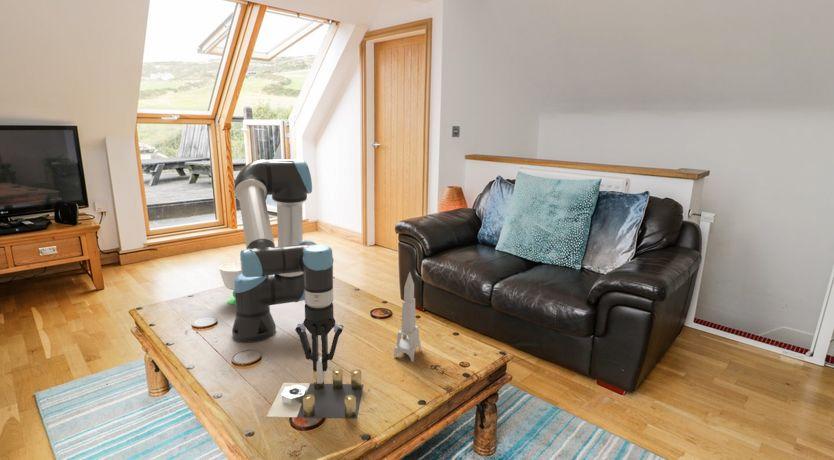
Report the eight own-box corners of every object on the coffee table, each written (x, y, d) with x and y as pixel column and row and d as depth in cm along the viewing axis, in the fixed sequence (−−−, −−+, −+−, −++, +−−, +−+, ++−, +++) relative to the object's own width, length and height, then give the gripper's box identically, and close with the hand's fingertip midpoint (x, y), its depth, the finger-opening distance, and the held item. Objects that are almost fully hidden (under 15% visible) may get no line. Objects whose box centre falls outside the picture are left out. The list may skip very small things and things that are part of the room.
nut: (284, 408, 124) (284, 400, 123) (279, 397, 129) (279, 388, 128) (309, 401, 127) (309, 393, 127) (303, 390, 132) (303, 382, 132)
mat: (266, 418, 120) (266, 416, 120) (283, 384, 136) (283, 382, 136) (357, 420, 121) (357, 418, 121) (363, 386, 136) (363, 384, 136)
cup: (248, 307, 190) (246, 271, 186) (216, 306, 190) (213, 270, 186) (260, 295, 203) (258, 261, 200) (229, 294, 203) (227, 260, 200)
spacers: (302, 417, 120) (301, 400, 119) (315, 383, 136) (314, 368, 135) (355, 418, 121) (355, 401, 119) (361, 384, 136) (361, 369, 135)
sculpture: (420, 350, 159) (423, 268, 152) (413, 361, 151) (415, 276, 144) (402, 346, 161) (404, 266, 154) (394, 357, 153) (395, 273, 146)
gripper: (291, 307, 118) (293, 387, 124) (341, 309, 118) (341, 389, 124) (298, 296, 125) (300, 372, 131) (345, 298, 125) (345, 373, 131)
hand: (320, 380), depth 127 cm, fingers closed
